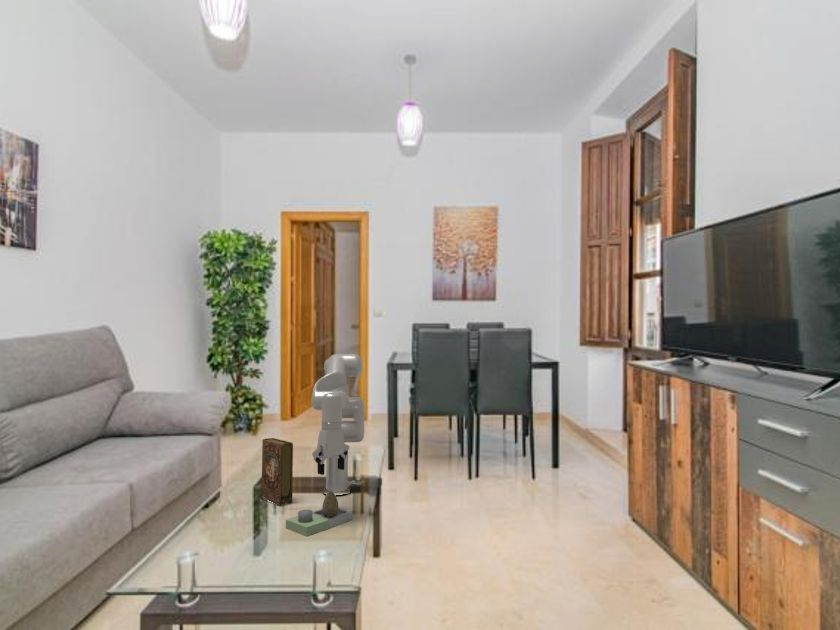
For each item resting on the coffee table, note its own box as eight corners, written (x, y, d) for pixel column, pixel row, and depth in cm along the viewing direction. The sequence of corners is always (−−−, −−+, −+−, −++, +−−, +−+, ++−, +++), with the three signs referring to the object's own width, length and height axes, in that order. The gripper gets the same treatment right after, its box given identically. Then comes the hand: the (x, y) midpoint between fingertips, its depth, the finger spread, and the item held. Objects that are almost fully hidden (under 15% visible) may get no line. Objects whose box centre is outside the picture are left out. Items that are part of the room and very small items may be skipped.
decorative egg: (324, 522, 189) (325, 494, 189) (320, 517, 194) (320, 490, 195) (340, 520, 191) (340, 492, 192) (335, 515, 197) (336, 488, 197)
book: (259, 498, 220) (260, 439, 221) (271, 495, 224) (272, 437, 225) (280, 506, 208) (281, 444, 210) (292, 503, 212) (293, 442, 214)
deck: (308, 520, 192) (308, 504, 192) (329, 528, 184) (329, 511, 185) (285, 528, 184) (285, 511, 185) (306, 536, 177) (306, 518, 177)
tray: (332, 513, 201) (332, 505, 201) (352, 520, 193) (352, 511, 193) (308, 521, 192) (308, 512, 192) (328, 528, 185) (328, 519, 185)
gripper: (342, 422, 204) (341, 465, 203) (307, 427, 190) (306, 474, 190) (355, 424, 199) (354, 469, 198) (320, 430, 186) (319, 478, 185)
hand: (331, 471), depth 194 cm, fingers open, 9 cm apart
